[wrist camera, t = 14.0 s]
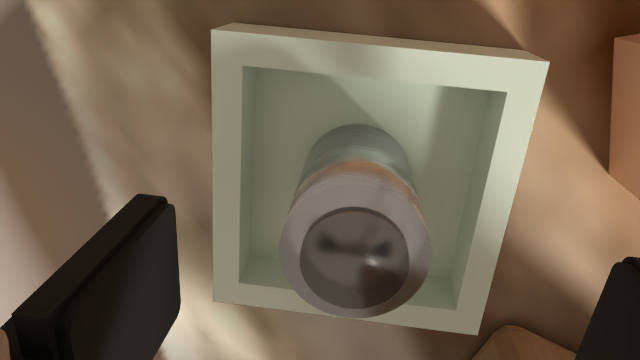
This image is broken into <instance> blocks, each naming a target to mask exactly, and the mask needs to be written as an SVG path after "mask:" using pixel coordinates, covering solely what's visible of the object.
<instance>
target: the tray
mask: <svg viewBox="0 0 640 360" xmlns="http://www.w3.org/2000/svg"><path fill="white" fill-rule="evenodd" d="M549 64H550V62H549V61H547V60H545V59H542V58H540V57H538V56H536V55H534V54H532V53H529V52H527V51H525V50H518V49H508V48H497V47H486V46H476V45H465V44H455V43H444V42H434V41H423V40H413V39H402V38H391V37H381V36H370V35H360V34H349V33H339V32H328V31H318V30H307V29H296V28H286V27H275V26H265V25H254V24H244V23H230V24H227V25H224V26H221V27H217V28H214V29H211V92H212V214H213V301H215V302H223V303H231V304H239V305H246V306H254V307H262V308H269V309H277V310H285V311H292V312H300V313H308V314H316V315H323V316H331V317H339V316H335V315H331V314H328V313H326V312H323V311H321V310H319V309H317V308H315V307H313V306H312V305H310V304H309V303H307V302H306V301H305V300H303V299H302V298H301V297H300V296H299V295H298V294H297V293H296V292H295V291H294V290H293V288H292V287H291V286H290V284H289V283H288V281H287V279H286V277H285V275H284V273H283V270H282V267H281V263H280V259H279V241H280V237H281V232H282V229H283V226H284V223H285V221H286V218H287V215H288V212H289V209H290V206H291V203H292V200H293V197H294V194H295V191H296V188H297V185H298V182H299V179H300V177H301V174H302V171H303V168H304V165H305V162H306V159H307V156H308V154H309V152H310V150H311V148H312V147H313V145H314V144H315V143H316V142H317V141H318V140H319V139H320V138H321V137H322V136H323V135H324V134H326V133H327V132H329V131H331V130H333V129H335V128H337V127H340V126H344V125H350V124H365V125H370V126H374V127H377V128H379V129H381V130H383V131H385V132H387V133H388V134H390V135H391V136H392V137H393V138H394V139H395V140H397V141H398V143H399V144H400V145H401V147H402V148H403V150H404V152H405V153H406V156H407V158H408V161H409V165H410V169H411V172H412V176H413V180H414V183H415V187H416V190H417V194H418V198H419V201H420V205H421V208H422V212H423V216H424V219H425V223H426V226H427V230H428V234H429V238H430V242H431V251H432V254H431V263H430V268H429V271H428V274H427V277H426V279H425V281H424V282H423V284H422V286H421V287H420V288H419V290H418V291H417V292H416V293H415V294H414V296H413V297H412V298H411V299H409V300H408V301H407V302H406V303H404V304H403V305H401V306H400V307H398V308H396V309H394V310H392V311H390V312H388V313H385V314H382V315H379V316H374V317H369V318H346V317H339V318H346V319H354V320H362V321H369V322H377V323H385V324H392V325H400V326H408V327H416V328H423V329H431V330H439V331H446V332H454V333H462V334H469V335H477V336H478V332H479V328H480V324H481V321H482V317H483V313H484V309H485V306H486V302H487V298H488V294H489V290H490V287H491V283H492V279H493V275H494V272H495V268H496V264H497V260H498V256H499V253H500V249H501V245H502V241H503V238H504V234H505V230H506V226H507V222H508V219H509V215H510V211H511V207H512V204H513V200H514V196H515V192H516V188H517V185H518V181H519V177H520V173H521V170H522V166H523V162H524V158H525V155H526V151H527V147H528V143H529V139H530V136H531V132H532V128H533V124H534V121H535V117H536V113H537V109H538V105H539V102H540V98H541V94H542V90H543V87H544V83H545V79H546V75H547V71H548V68H549Z"/></svg>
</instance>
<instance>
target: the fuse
mask: <svg viewBox="0 0 640 360" xmlns="http://www.w3.org/2000/svg"><path fill="white" fill-rule="evenodd" d="M431 254H432V251H431V242H430V238H429V234H428V230H427V226H426V223H425V219H424V216H423V212H422V208H421V205H420V201H419V198H418V194H417V190H416V187H415V183H414V180H413V176H412V172H411V169H410V165H409V161H408V158H407V156H406V153H405V152H404V150H403V148H402V147H401V145H400V144H399V143H398V141H397V140H395V139H394V138H393V137H392V136H391V135H390V134H388V133H387V132H385V131H383V130H381V129H379V128H377V127H374V126H370V125H365V124H350V125H344V126H340V127H337V128H335V129H333V130H331V131H329V132H327V133H326V134H324V135H323V136H322V137H321V138H320V139H319V140H318V141H317V142H316V143H315V144H314V145H313V147H312V148H311V150H310V152H309V154H308V156H307V159H306V162H305V165H304V168H303V171H302V174H301V177H300V179H299V182H298V185H297V188H296V191H295V194H294V197H293V200H292V203H291V206H290V209H289V212H288V215H287V218H286V221H285V223H284V226H283V229H282V232H281V237H280V241H279V259H280V263H281V267H282V270H283V273H284V275H285V277H286V279H287V281H288V283H289V284H290V286H291V287H292V288H293V290H294V291H295V292H296V293H297V294H298V295H299V296H300V297H301V298H302V299H303V300H305V301H306V302H307V303H309V304H310V305H312V306H313V307H315V308H317V309H319V310H321V311H323V312H326V313H328V314H331V315H335V316H339V317H346V318H369V317H374V316H379V315H382V314H385V313H388V312H390V311H392V310H394V309H396V308H398V307H400V306H401V305H403V304H404V303H406V302H407V301H408V300H409V299H411V298H412V297H413V296H414V294H415V293H416V292H417V291H418V290H419V288H420V287H421V286H422V284H423V282H424V281H425V279H426V277H427V274H428V271H429V268H430V263H431Z"/></svg>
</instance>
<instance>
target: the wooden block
mask: <svg viewBox="0 0 640 360" xmlns="http://www.w3.org/2000/svg"><path fill="white" fill-rule="evenodd" d="M576 355H577V354H576V353H574V352H572V351H570V350H568V349H566V348H564V347H561V346H559V345H557V344H555V343H553V342H551V341H549V340H547V339H545V338H543V337H541V336H538V335H536V334H534V333H532V332H530V331H528V330H526V329H524V328H522V327H520V326H512V325H505V326H504V327H502V328H500V329H498V330H496V331H495V332H494V333H493V334H492V336H491V337H490V338H489V339H488V340H487V342H486V343H485V344H484V345H483V346H482V348H481V349H480V350H479V351H478V352H477V354H476V355H475V356H474V357H473V358H472V360H575V357H576Z"/></svg>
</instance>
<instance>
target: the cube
mask: <svg viewBox="0 0 640 360" xmlns="http://www.w3.org/2000/svg"><path fill="white" fill-rule="evenodd" d="M609 175H610V176H611V177H613V178H614V179H615V180H616V181H617V182H619V183H620V184H621V185H622V186H623V187H625V188H626V189H627V190H628V191H630V192H631V193H632V194H633V195H634V196H636V197H637V198H638V199H639V200H640V34H635V35H629V36H622V37H616V38H614V59H613V83H612V107H611V132H610V156H609Z"/></svg>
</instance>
